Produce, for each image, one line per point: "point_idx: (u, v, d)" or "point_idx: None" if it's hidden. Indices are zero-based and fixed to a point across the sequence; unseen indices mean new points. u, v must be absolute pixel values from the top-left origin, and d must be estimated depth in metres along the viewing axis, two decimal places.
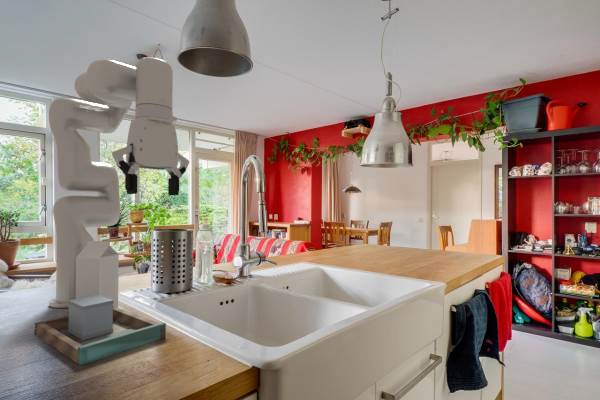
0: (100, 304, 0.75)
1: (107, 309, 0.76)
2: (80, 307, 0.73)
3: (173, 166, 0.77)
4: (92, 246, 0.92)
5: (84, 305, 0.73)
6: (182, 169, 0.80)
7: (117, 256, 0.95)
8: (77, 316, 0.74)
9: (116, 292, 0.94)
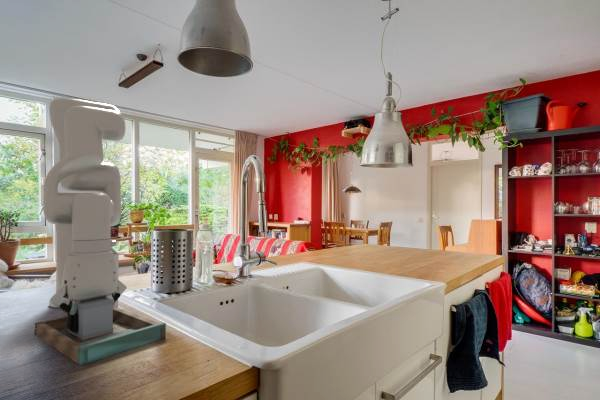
0: (100, 304, 0.75)
1: (107, 309, 0.76)
2: (80, 307, 0.73)
3: (111, 292, 0.79)
4: None
5: (84, 305, 0.73)
6: (116, 296, 0.81)
7: (117, 256, 0.95)
8: None
9: None
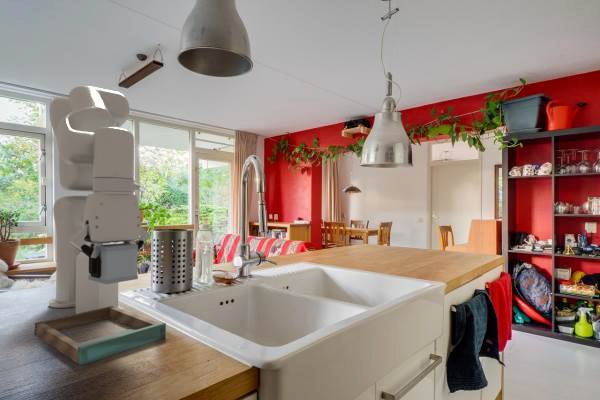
0: (124, 247, 0.69)
1: (131, 254, 0.70)
2: (103, 249, 0.67)
3: (135, 238, 0.73)
4: None
5: (107, 247, 0.67)
6: (139, 243, 0.75)
7: None
8: None
9: (116, 292, 0.94)
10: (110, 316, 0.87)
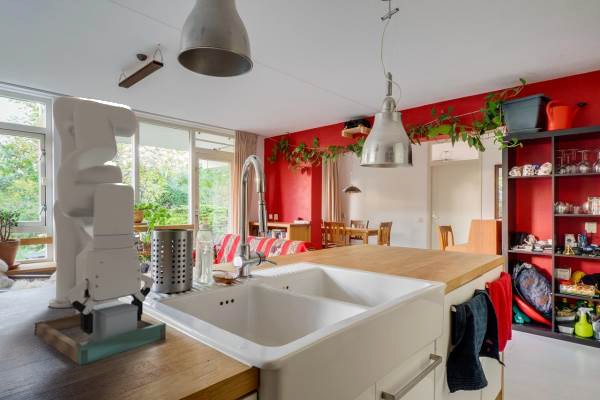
0: (124, 311, 0.69)
1: (131, 316, 0.70)
2: (103, 314, 0.67)
3: (135, 292, 0.72)
4: (92, 246, 0.92)
5: (107, 312, 0.67)
6: (146, 290, 0.76)
7: None
8: (99, 324, 0.68)
9: None
10: None
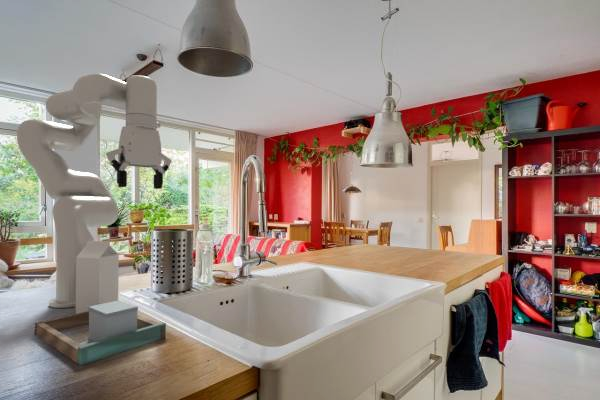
0: (124, 311, 0.69)
1: (131, 316, 0.70)
2: (103, 314, 0.67)
3: (157, 164, 0.93)
4: (92, 246, 0.92)
5: (107, 312, 0.67)
6: (165, 167, 0.96)
7: (117, 256, 0.95)
8: (99, 324, 0.68)
9: (116, 292, 0.94)
10: None
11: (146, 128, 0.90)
